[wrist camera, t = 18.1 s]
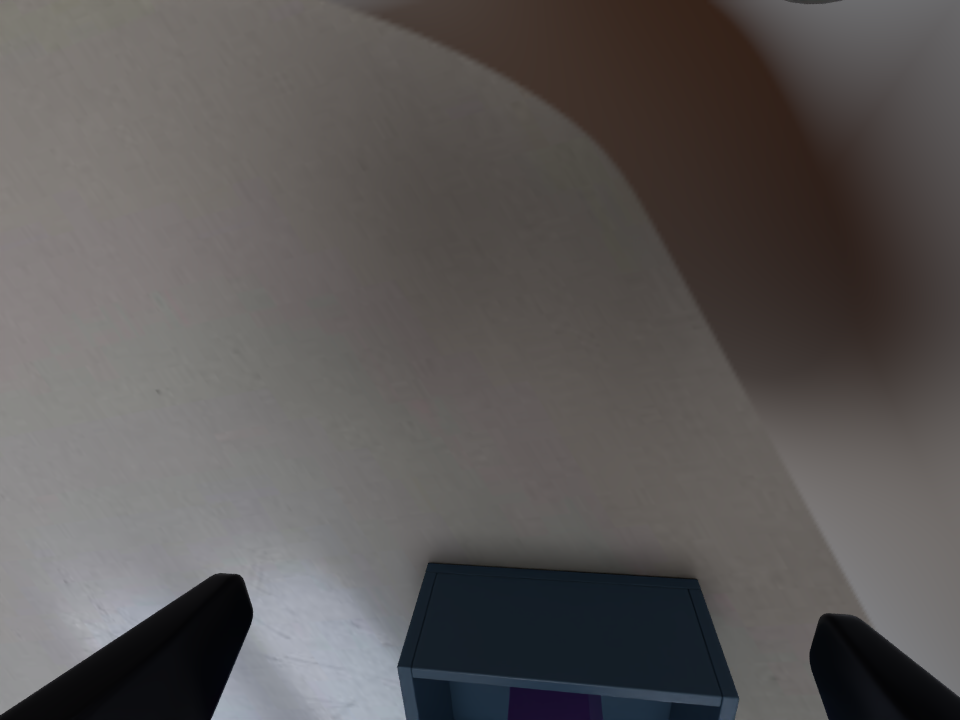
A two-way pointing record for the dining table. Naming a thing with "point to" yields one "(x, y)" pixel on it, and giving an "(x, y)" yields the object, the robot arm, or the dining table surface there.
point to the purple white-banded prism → (552, 705)
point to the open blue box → (562, 644)
